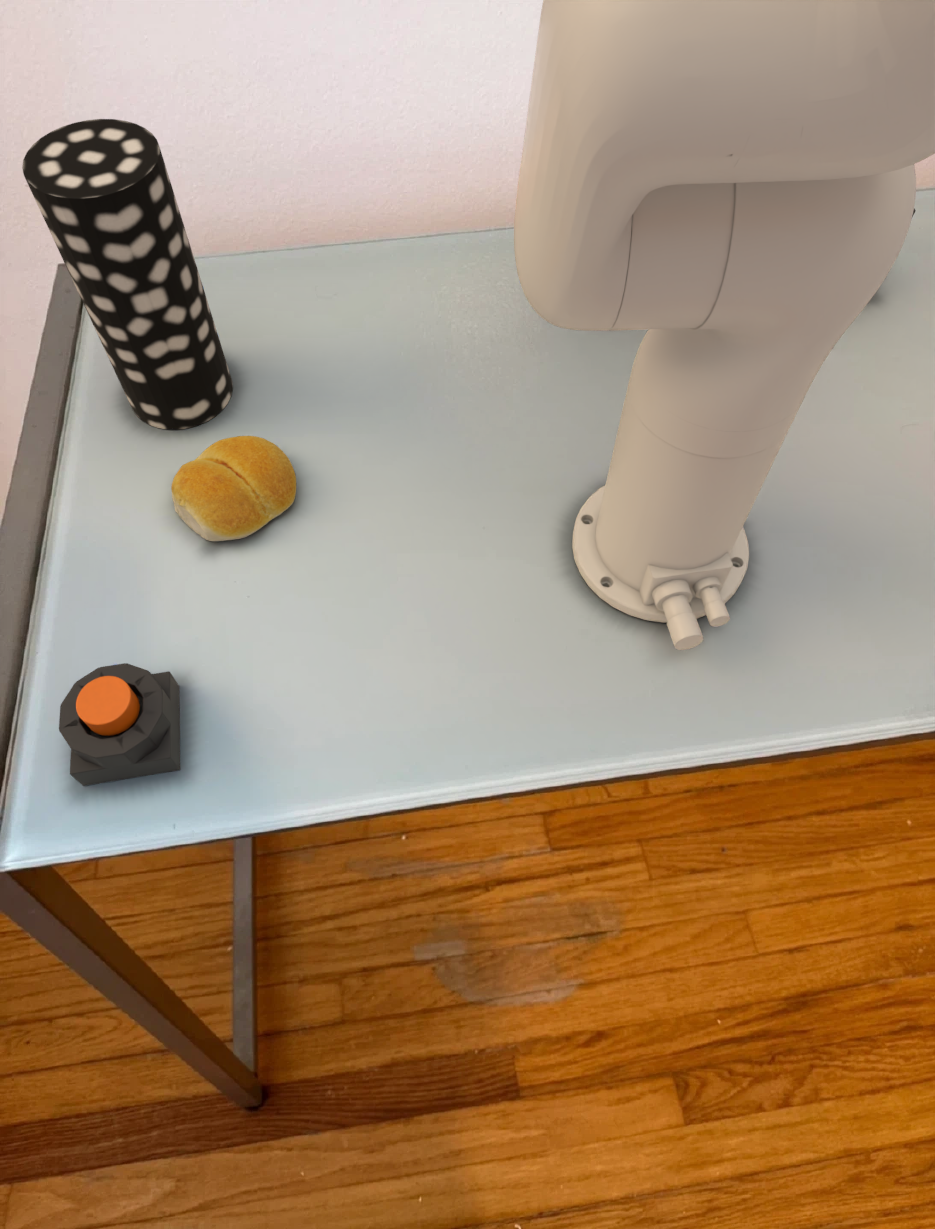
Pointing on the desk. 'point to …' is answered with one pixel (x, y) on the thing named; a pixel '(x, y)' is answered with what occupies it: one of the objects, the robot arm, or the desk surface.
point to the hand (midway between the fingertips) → (615, 247)
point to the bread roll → (234, 488)
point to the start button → (107, 705)
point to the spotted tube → (132, 266)
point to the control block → (135, 749)
